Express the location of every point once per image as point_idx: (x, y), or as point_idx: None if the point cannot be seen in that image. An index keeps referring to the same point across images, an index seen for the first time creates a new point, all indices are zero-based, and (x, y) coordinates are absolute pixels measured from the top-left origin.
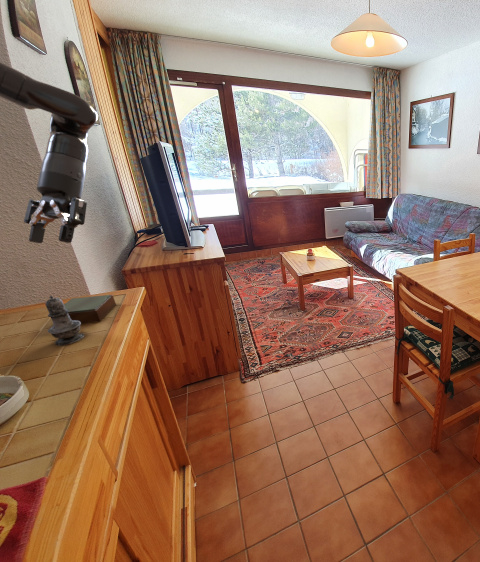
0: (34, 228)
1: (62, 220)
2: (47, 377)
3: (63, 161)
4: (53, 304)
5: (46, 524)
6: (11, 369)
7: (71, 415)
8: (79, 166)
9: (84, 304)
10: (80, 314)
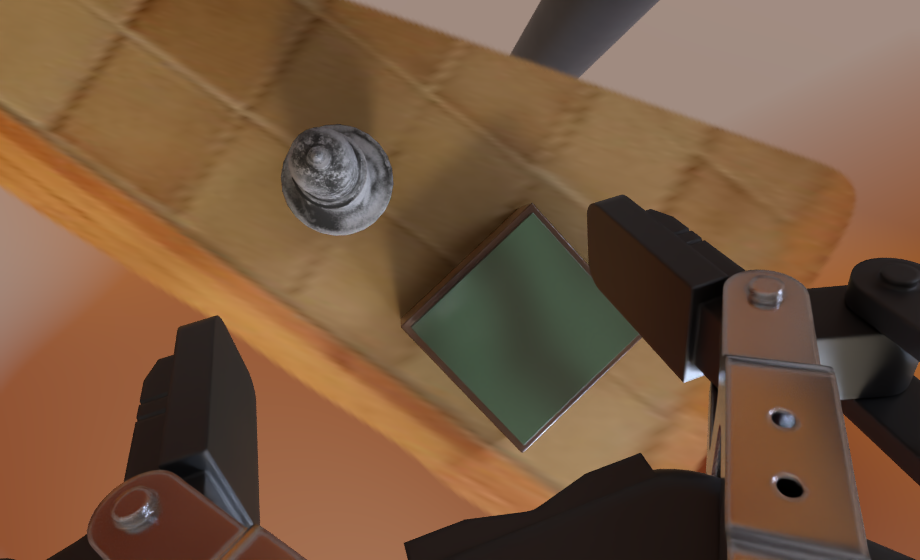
0: (673, 279)
1: (181, 518)
2: (109, 24)
3: None
4: (291, 148)
5: None
6: None
7: None
8: None
9: (509, 328)
10: (447, 280)
